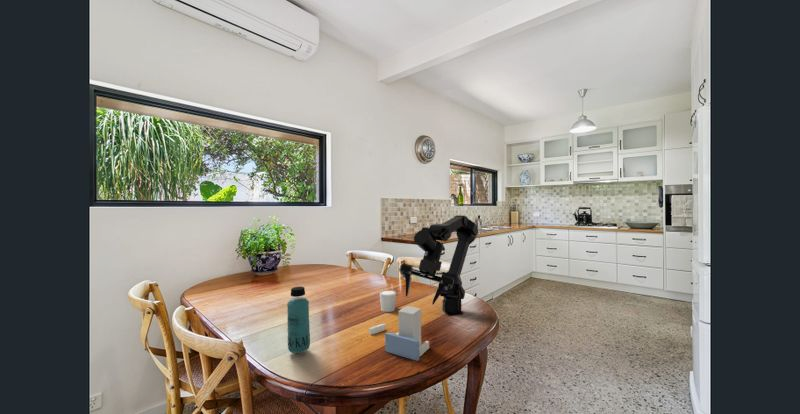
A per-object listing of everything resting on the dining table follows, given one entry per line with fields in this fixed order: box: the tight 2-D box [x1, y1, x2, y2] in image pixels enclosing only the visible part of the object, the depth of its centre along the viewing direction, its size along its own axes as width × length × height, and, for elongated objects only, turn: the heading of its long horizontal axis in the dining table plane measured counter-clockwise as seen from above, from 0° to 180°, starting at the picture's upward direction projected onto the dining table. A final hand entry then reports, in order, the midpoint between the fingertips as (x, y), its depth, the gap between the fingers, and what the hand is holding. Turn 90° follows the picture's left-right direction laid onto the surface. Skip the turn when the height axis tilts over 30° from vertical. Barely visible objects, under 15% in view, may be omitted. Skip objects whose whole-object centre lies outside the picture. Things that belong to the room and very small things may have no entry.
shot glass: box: [379, 289, 397, 313], centre depth 132 cm, size 7×7×7 cm
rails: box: [368, 323, 399, 336], centre depth 108 cm, size 6×10×2 cm, turn 39°
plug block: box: [397, 305, 422, 347], centre depth 99 cm, size 5×5×12 cm
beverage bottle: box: [286, 286, 311, 354], centre depth 97 cm, size 6×7×20 cm
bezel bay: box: [384, 332, 430, 362], centre depth 98 cm, size 8×11×6 cm
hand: (419, 300), depth 108 cm, fingers open, 9 cm apart
